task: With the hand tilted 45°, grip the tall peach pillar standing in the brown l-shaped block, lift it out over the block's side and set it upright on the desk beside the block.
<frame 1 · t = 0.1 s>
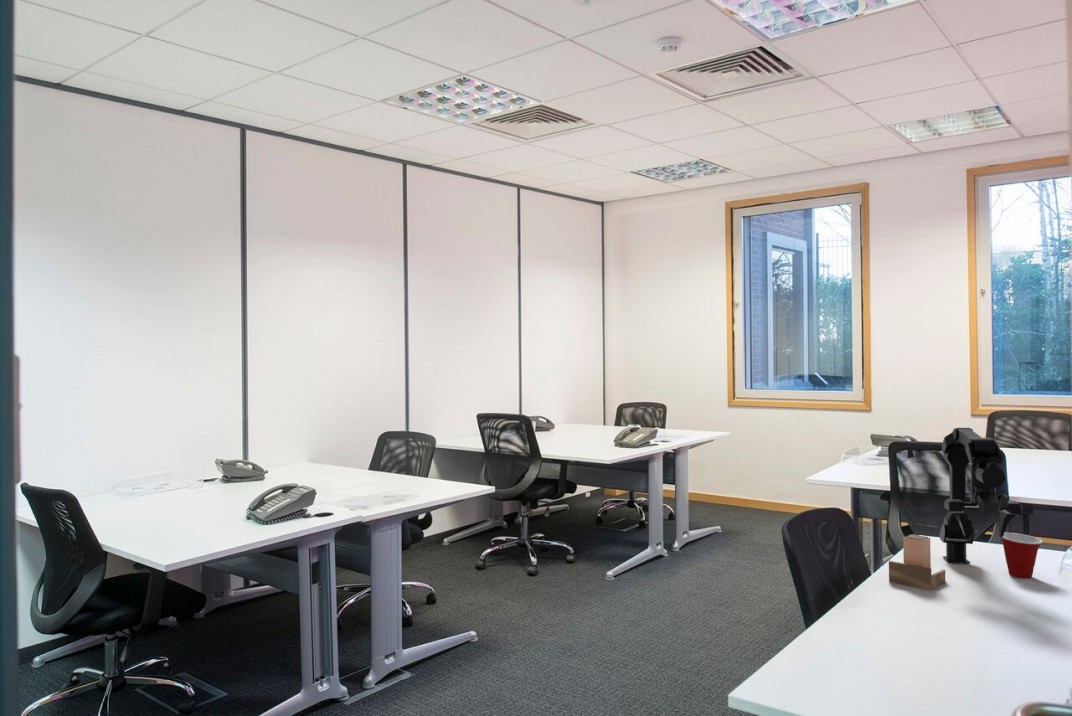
hand: (983, 536, 215), 15 cm above the table, tool pointing down, fingers open, 9 cm apart
plastic cup: (1021, 576, 225), on the table
tall peach pillar: (917, 581, 221), resting in brown l-shaped block
brown l-shaped block: (917, 581, 221), on the table
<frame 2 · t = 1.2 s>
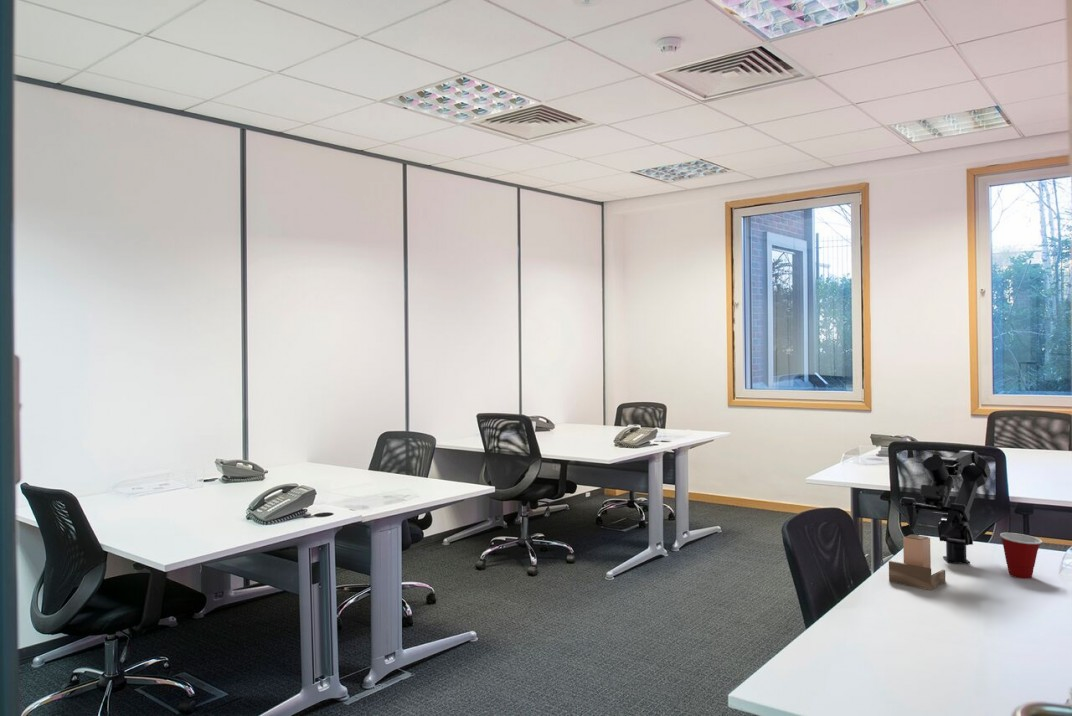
hand: (926, 532, 226), 13 cm above the table, tool tilted 45°, fingers open, 9 cm apart
nothing on the table moved.
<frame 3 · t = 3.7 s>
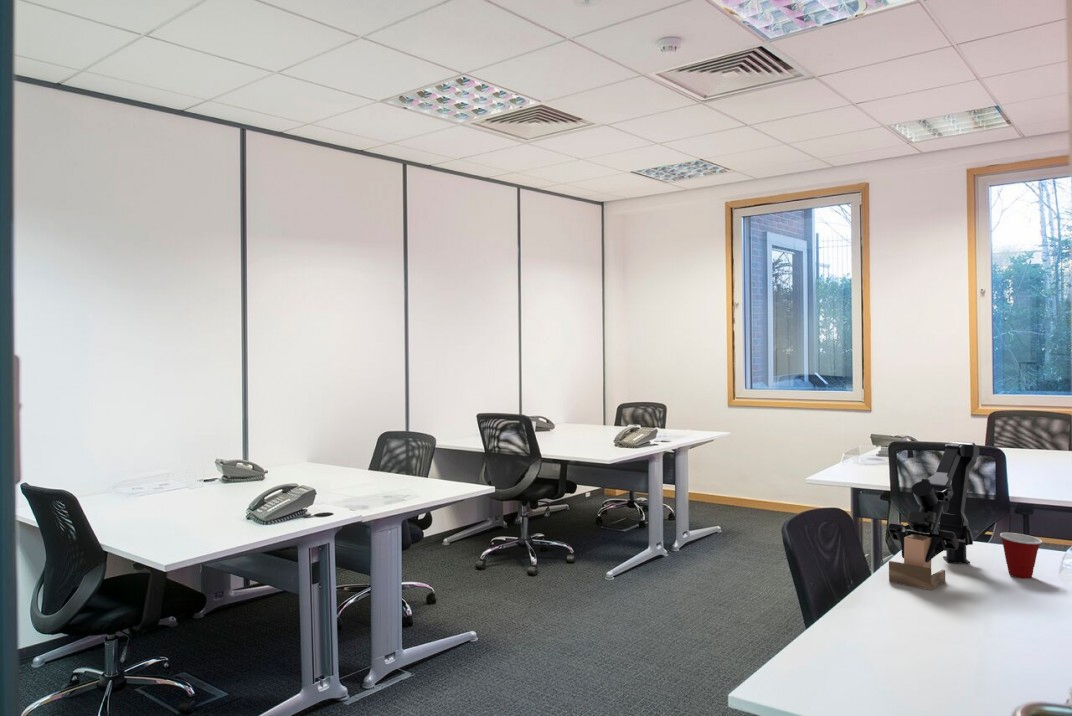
hand: (914, 559, 220), 7 cm above the table, tool tilted 45°, fingers closed on tall peach pillar, 6 cm apart
tall peach pillar: (917, 581, 221), resting in brown l-shaped block, touching gripper
everything else where it was.
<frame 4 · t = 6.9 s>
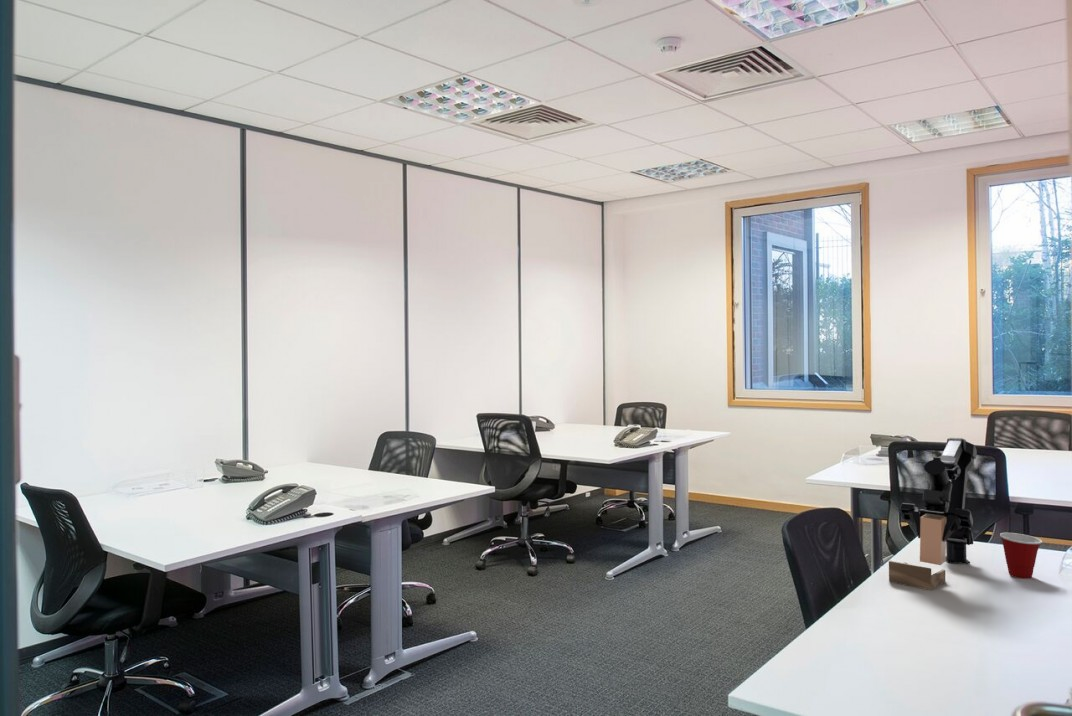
hand: (930, 539, 217), 13 cm above the table, tool tilted 45°, fingers closed on tall peach pillar, 6 cm apart
tall peach pillar: (932, 561, 219), point 7 cm above the table, touching gripper
everything else where it was.
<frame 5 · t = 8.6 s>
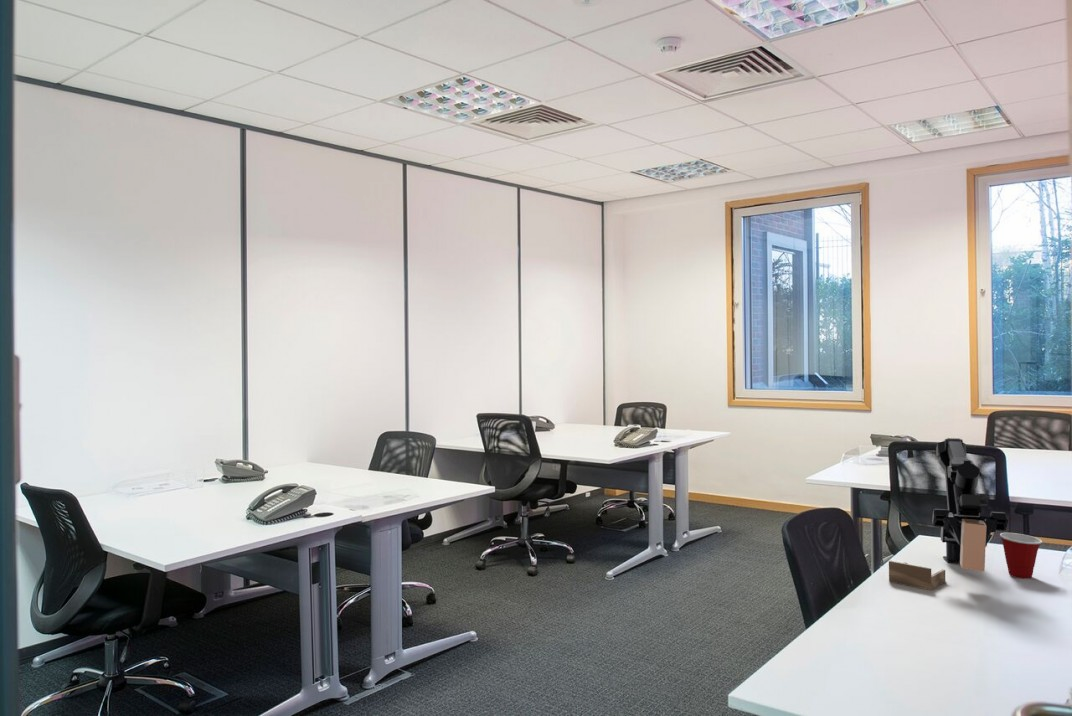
hand: (972, 544, 212), 13 cm above the table, tool tilted 45°, fingers closed on tall peach pillar, 6 cm apart
tall peach pillar: (971, 567, 214), point 6 cm above the table, touching gripper
everything else where it was.
when the fingers open (8 cm above the table, at t = 10.1 s): tall peach pillar drops 1 cm, on the table.
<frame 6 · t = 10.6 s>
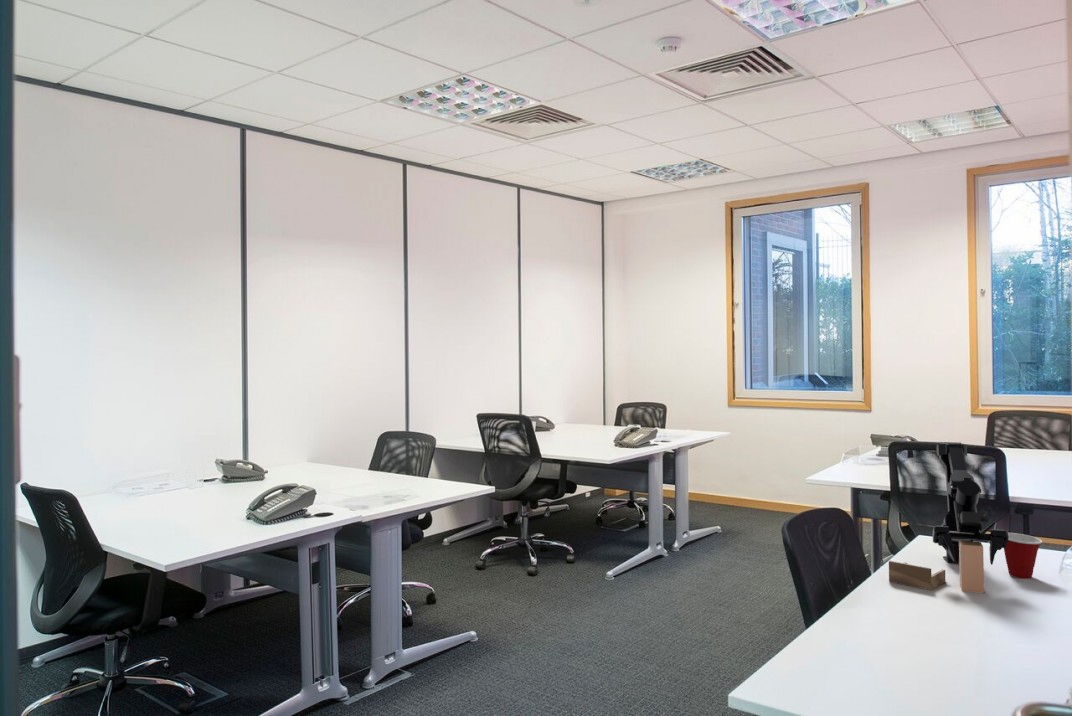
hand: (973, 562, 212), 8 cm above the table, tool tilted 45°, fingers open, 9 cm apart
tall peach pillar: (971, 589, 214), on the table
everything else where it was.
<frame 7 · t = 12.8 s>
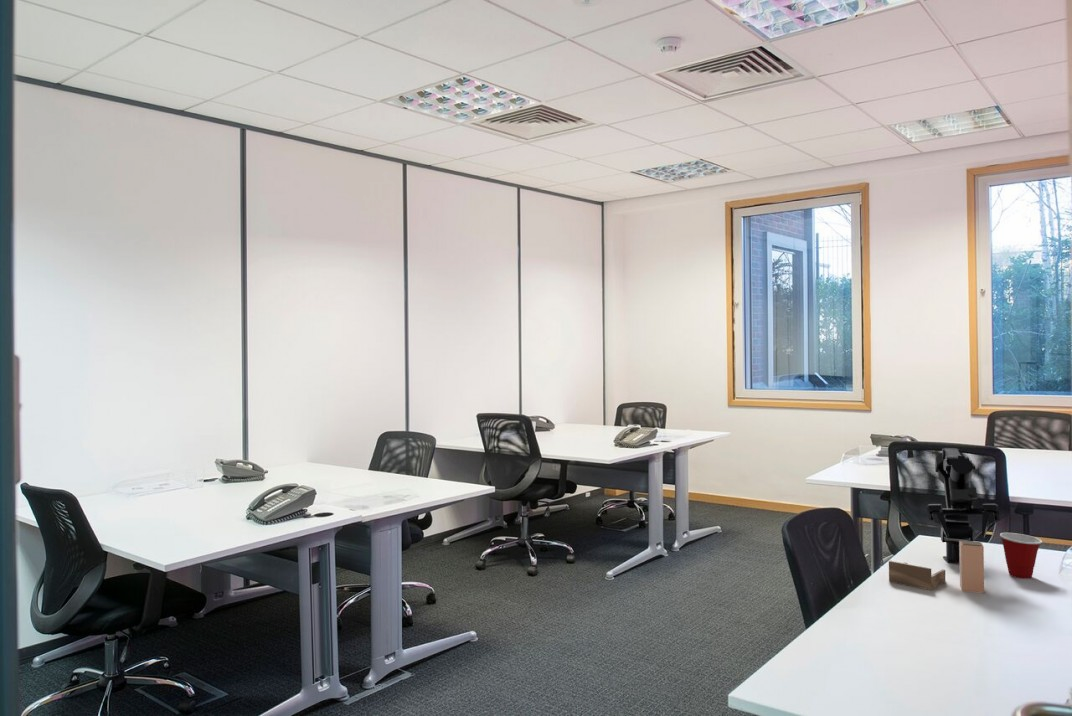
hand: (965, 537, 221), 13 cm above the table, tool tilted 40°, fingers open, 9 cm apart
nothing on the table moved.
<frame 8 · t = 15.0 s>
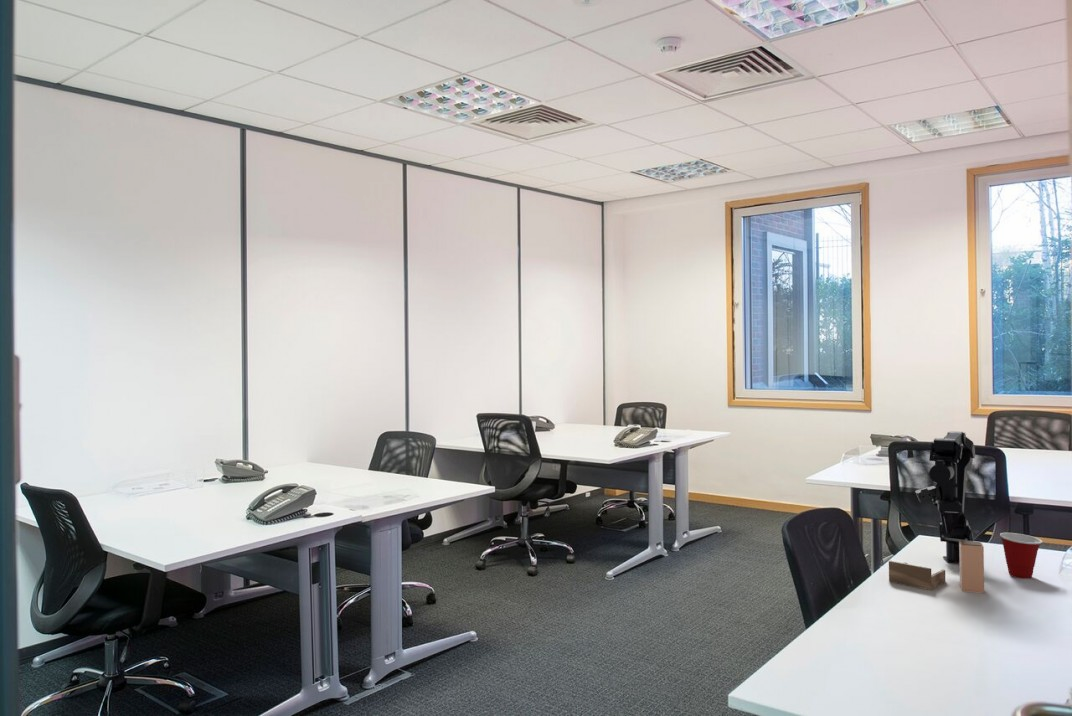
hand: (947, 529, 231), 13 cm above the table, tool pointing down, fingers open, 9 cm apart
nothing on the table moved.
at the end: tall peach pillar inside the target area (0.7 cm from its centre), on the table; tall peach pillar tilted 0°; the gripper is holding nothing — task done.
